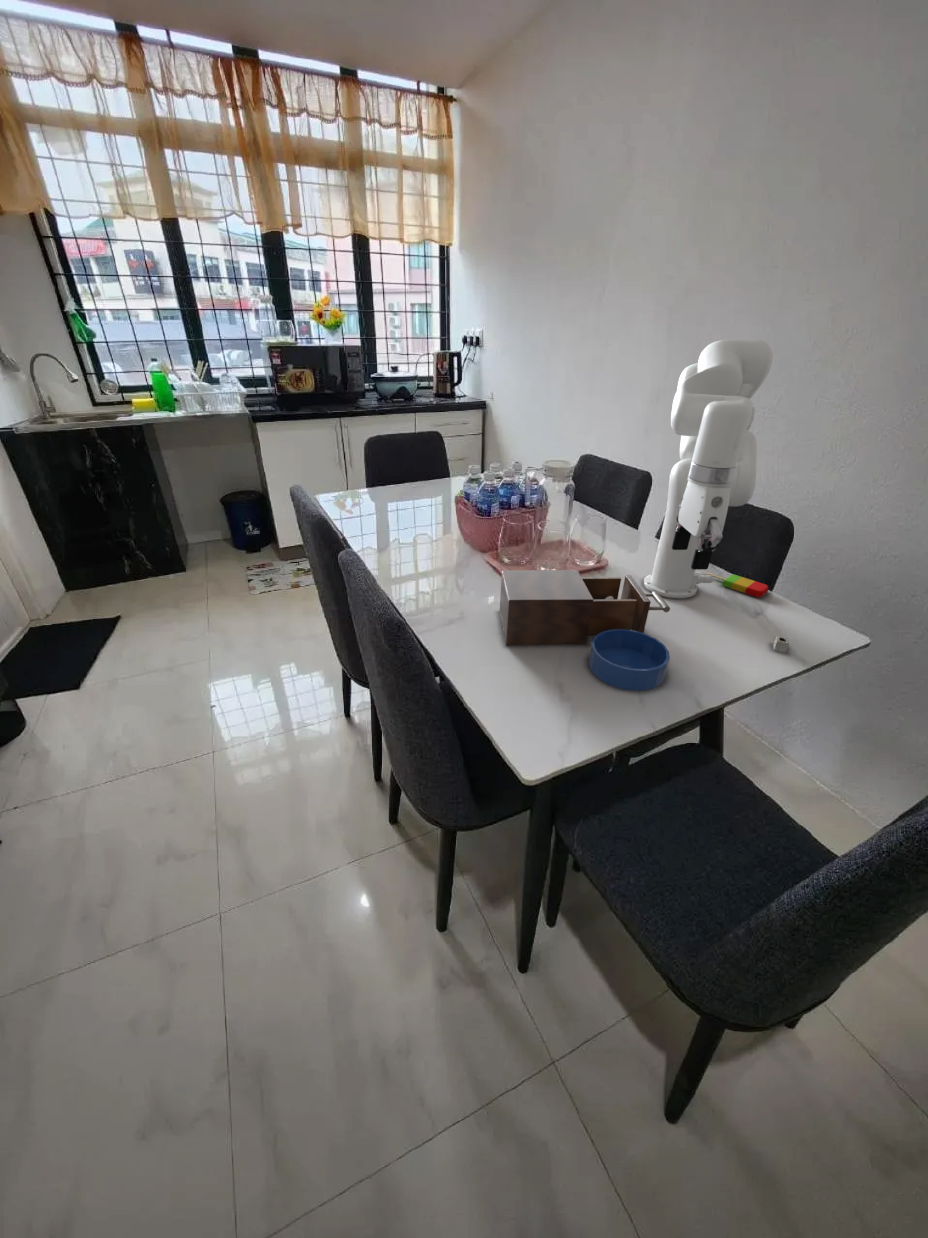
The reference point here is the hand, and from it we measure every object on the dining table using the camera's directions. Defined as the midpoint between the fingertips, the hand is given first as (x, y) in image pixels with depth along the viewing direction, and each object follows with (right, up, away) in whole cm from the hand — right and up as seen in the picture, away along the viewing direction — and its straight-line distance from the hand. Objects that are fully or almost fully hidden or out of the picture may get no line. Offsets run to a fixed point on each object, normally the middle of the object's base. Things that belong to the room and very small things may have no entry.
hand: (688, 558), depth 102 cm
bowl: (-14, -22, -5) cm, 27 cm away
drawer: (-14, -13, +7) cm, 21 cm away
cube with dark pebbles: (+19, -19, +1) cm, 27 cm away
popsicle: (+23, -4, +26) cm, 35 cm away
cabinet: (-29, -14, +7) cm, 33 cm away
